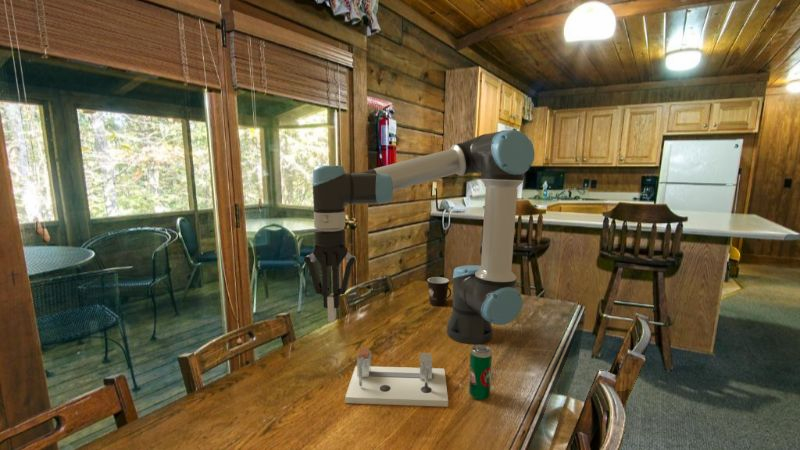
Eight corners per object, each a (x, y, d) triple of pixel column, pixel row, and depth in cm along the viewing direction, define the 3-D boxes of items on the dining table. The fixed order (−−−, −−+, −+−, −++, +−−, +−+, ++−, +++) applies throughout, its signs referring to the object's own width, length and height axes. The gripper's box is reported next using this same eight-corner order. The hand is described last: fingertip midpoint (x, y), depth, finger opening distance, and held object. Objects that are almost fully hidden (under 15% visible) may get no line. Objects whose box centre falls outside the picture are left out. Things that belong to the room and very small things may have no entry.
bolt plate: (444, 373, 100) (444, 367, 99) (448, 406, 86) (448, 399, 85) (355, 371, 101) (355, 365, 101) (345, 403, 87) (345, 396, 87)
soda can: (467, 388, 93) (468, 343, 91) (487, 389, 93) (489, 343, 91) (470, 401, 88) (472, 353, 86) (492, 401, 88) (494, 354, 86)
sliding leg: (370, 368, 98) (370, 348, 97) (366, 387, 90) (366, 364, 89) (359, 368, 98) (359, 347, 98) (354, 386, 90) (353, 364, 89)
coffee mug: (425, 300, 155) (425, 277, 154) (445, 299, 156) (446, 276, 155) (430, 310, 144) (431, 286, 142) (452, 310, 145) (453, 285, 143)
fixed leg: (431, 371, 97) (431, 351, 97) (432, 390, 89) (432, 368, 88) (420, 370, 98) (420, 350, 97) (419, 389, 89) (420, 368, 88)
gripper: (298, 230, 88) (302, 325, 91) (353, 231, 87) (354, 326, 91) (308, 226, 95) (311, 313, 99) (358, 226, 95) (359, 314, 98)
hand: (332, 319), depth 95 cm, fingers closed
